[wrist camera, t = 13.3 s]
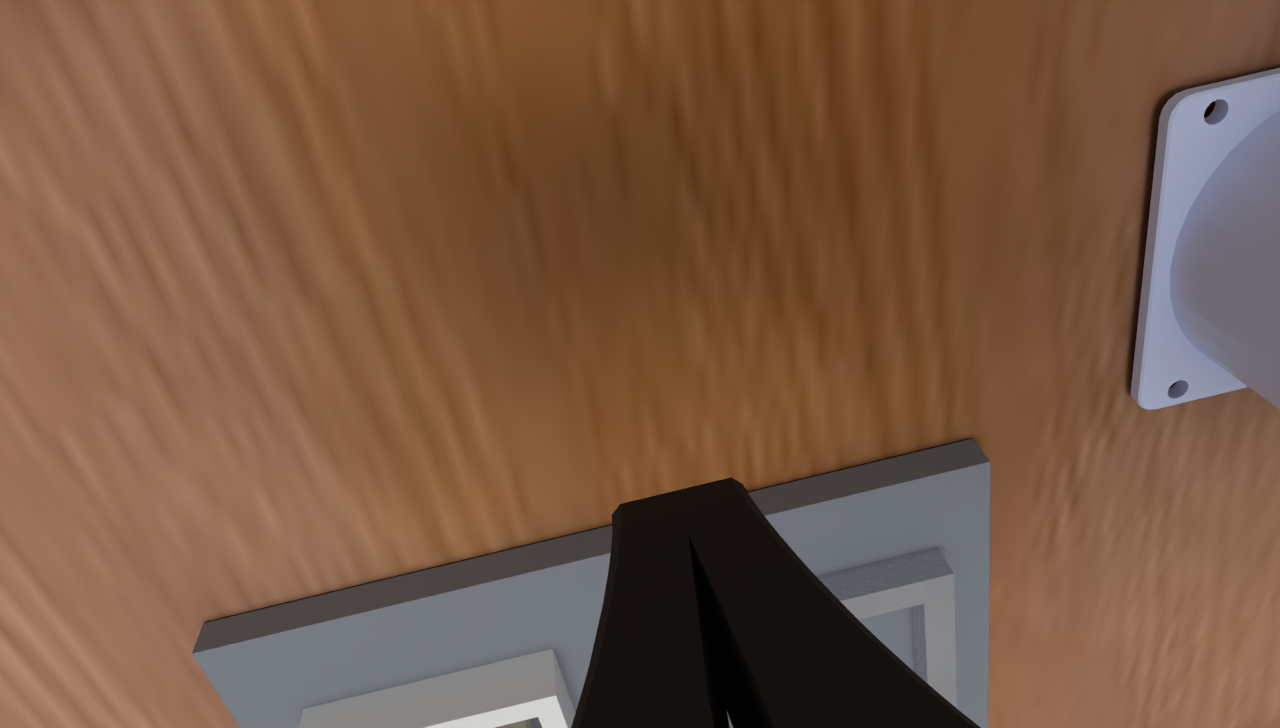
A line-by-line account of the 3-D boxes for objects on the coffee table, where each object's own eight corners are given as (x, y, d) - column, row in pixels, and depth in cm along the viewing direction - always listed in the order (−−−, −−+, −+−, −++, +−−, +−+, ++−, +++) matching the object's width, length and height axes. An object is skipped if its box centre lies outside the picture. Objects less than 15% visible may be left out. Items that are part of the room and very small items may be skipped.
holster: (937, 546, 23) (954, 573, 23) (942, 724, 27) (957, 752, 26) (667, 612, 23) (673, 641, 22) (709, 781, 27) (716, 812, 26)
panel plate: (971, 438, 23) (990, 461, 22) (973, 735, 29) (987, 762, 28) (203, 622, 23) (191, 653, 22) (367, 884, 29) (363, 915, 28)
